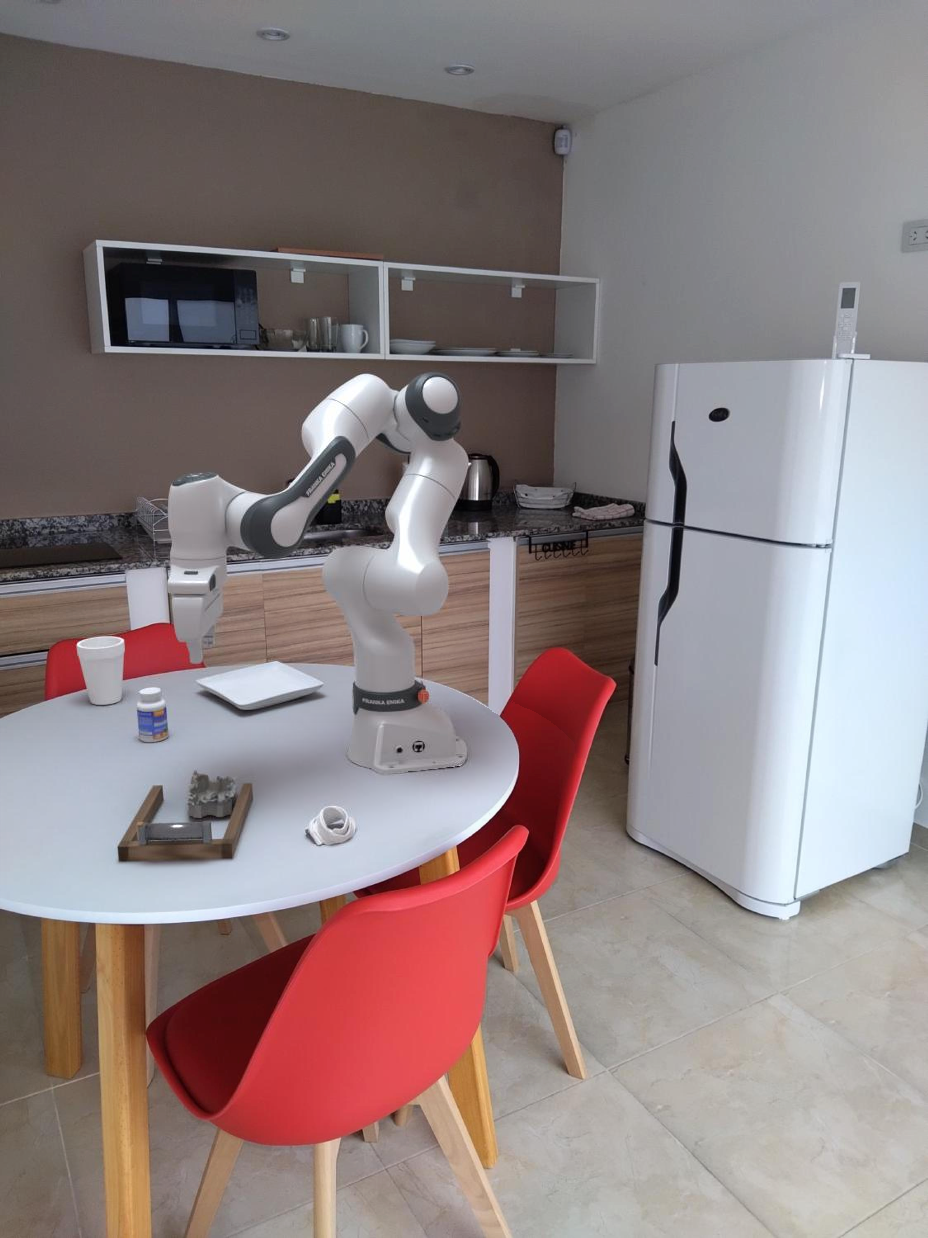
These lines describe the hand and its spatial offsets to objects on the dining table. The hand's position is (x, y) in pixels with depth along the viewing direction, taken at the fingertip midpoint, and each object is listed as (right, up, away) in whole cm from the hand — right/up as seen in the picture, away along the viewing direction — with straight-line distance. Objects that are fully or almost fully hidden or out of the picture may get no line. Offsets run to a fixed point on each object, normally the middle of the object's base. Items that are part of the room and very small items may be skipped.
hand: (202, 654), depth 148 cm
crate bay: (+1, -27, -11) cm, 29 cm away
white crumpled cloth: (+24, -28, -12) cm, 39 cm away
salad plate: (-2, -11, +50) cm, 51 cm away
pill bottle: (-17, -17, +24) cm, 34 cm away
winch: (+2, -26, -21) cm, 34 cm away
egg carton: (+1, -26, -5) cm, 27 cm away
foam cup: (-34, -12, +44) cm, 57 cm away
